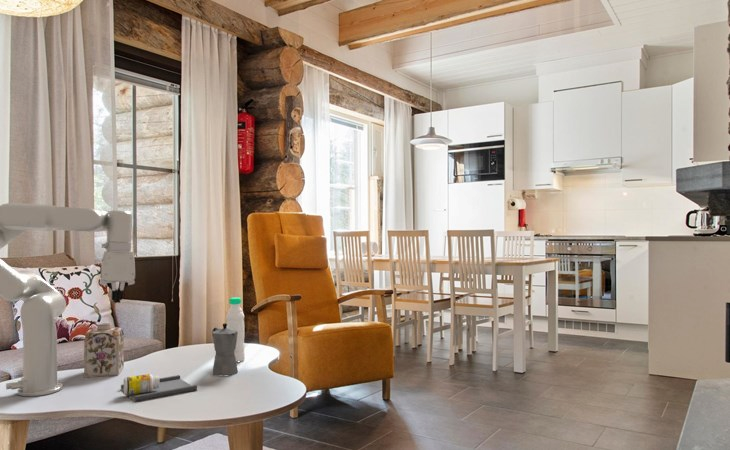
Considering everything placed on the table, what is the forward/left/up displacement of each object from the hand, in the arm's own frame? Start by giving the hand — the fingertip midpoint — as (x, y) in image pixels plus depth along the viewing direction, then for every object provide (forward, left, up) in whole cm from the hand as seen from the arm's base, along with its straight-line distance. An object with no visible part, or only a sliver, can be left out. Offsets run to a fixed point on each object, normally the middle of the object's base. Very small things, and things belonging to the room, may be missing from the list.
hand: (116, 302), depth 182 cm
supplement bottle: (-1, -14, -25) cm, 28 cm away
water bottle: (+46, +9, -28) cm, 55 cm away
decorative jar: (+1, +23, -28) cm, 36 cm away
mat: (+10, -13, -28) cm, 32 cm away
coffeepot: (+35, -5, -28) cm, 46 cm away
